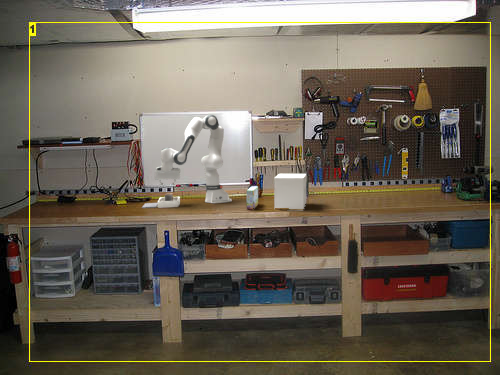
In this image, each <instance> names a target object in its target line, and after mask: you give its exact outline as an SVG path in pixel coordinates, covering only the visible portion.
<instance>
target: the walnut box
mask: <svg viewBox="0 0 500 375" xmlns="http://www.w3.org/2000/svg"><path fill="white" fill-rule="evenodd" d="M173 194H174V193H173V192H167V193H165V195H164V197H165V201H173V197H174V195H173Z"/></svg>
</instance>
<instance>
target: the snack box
mask: <svg viewBox="0 0 500 375" xmlns="http://www.w3.org/2000/svg"><path fill="white" fill-rule="evenodd" d="M258 205H259V185H258V186H257V185H251V186H250V187H249V188H248V189H246V210H247V209H253V208H254V209H256V207H257V206H258ZM254 209H253V210H254Z"/></svg>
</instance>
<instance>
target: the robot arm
mask: <svg viewBox="0 0 500 375" xmlns="http://www.w3.org/2000/svg"><path fill="white" fill-rule="evenodd" d="M203 129H205V130H209V132H210V135H209V140H208V145H207V148H208V151H209V153H208V154H207V155H204V156H202V158H201V160H200V162H201V164H202V166H203V170H204V174H205V184H206V185H205V191H206V193H205V200H204V202H205V203H210V204H222V203H231V202H232V198H230V195H229V193H228V192H227V191H226V190H224V189H223V185H221V184H220V174H219V173H218V171H217V169H220V168H222V167H223V164H224V160H223V158H222V146H223V141H224V133H225V132H224V128H223V127H222V126H220V124H219V120H218V118H217V116H215V115H214V114H208V115H205V117H203V118H200V117H198V116H195V117H193V118H192V120H191V121H190V122H189V123H188V125H187V127H186V128H185V130H184V142H183V144H182V145H181V148H180V149H179V151H178V150H175V149H173V148H172V147H164V148H162V149H161V151H160V159H161V163H160V164H161V165H160V166H158V167H157V166H156V168H155V172H154V180H158V182H159V183H160V186H164V183H163V182H162V181H163V180H173V182H172V185H173V186H175V184H176V181H177V180H180V179H181V169H180V168H179V167H174V166H173V164H175V165H178V166H182V165H185V164H186V163H187V161H188V160H187V159H188V155H189V152H190V150H191V148H192V147H193V144H194V142H195V140H197V138H198V137H199V134H200V133H201V131H202V130H203Z"/></svg>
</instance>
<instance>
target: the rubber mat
mask: <svg viewBox="0 0 500 375" xmlns="http://www.w3.org/2000/svg"><path fill="white" fill-rule="evenodd" d="M156 208H158V202H148V203H144V204H143V205H142V207H141V209H156Z"/></svg>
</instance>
